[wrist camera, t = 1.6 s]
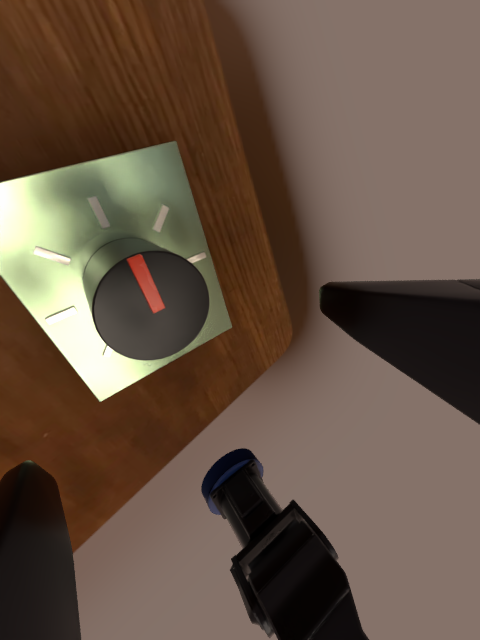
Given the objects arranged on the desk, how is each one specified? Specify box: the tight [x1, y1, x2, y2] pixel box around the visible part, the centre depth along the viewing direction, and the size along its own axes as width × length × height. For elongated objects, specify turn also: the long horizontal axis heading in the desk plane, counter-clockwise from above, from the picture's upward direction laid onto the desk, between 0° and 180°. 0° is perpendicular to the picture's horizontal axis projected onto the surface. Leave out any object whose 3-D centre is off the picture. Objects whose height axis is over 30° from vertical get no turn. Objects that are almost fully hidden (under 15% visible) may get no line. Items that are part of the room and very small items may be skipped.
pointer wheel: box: [83, 238, 209, 361], centre depth 13 cm, size 5×5×5 cm
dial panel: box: [0, 141, 232, 402], centre depth 16 cm, size 12×10×3 cm
